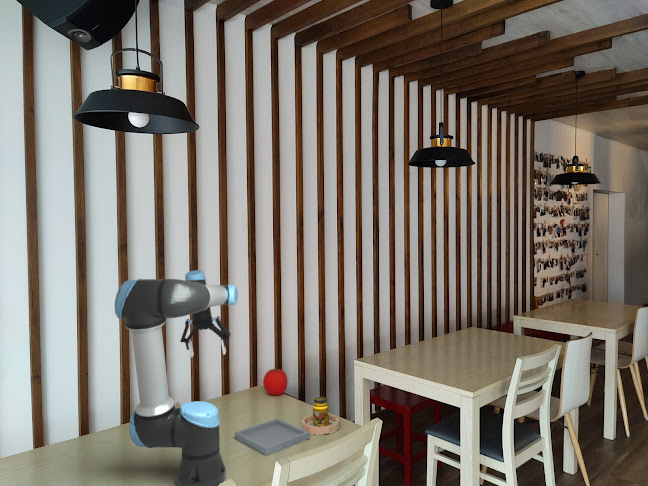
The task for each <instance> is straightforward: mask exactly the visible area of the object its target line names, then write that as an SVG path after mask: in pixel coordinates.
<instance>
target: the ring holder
mask: <svg viewBox="0 0 648 486" xmlns="http://www.w3.org/2000/svg"><path fill="white" fill-rule="evenodd" d="M328 416H329V420H331V421H333V422H335V423H334V424H329V426H322V427H317V426H311V424H307V423H308V422H311V421H313V414H310V415H307V416H305V417H303V418H302V420H301V429H302V428H303V430H305V431H307V432H309V433H312V434H324V433H330V432H331V431H334V430H336V429H337V428H338V427H339V428H340V419H339V418H338V417H337V416H336V415H334V414H331V413H328Z"/></svg>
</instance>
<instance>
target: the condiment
mask: <svg viewBox="0 0 648 486" xmlns="http://www.w3.org/2000/svg"><path fill="white" fill-rule="evenodd" d="M312 413H313V423H312V425H314V426H317V427H322V426H329V425H330V423H329V416H328V414H329V405H328V399H327V397H326V396H317V397H315V398H314V399H313V406H312Z"/></svg>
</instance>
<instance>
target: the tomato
mask: <svg viewBox="0 0 648 486" xmlns="http://www.w3.org/2000/svg"><path fill="white" fill-rule="evenodd" d="M262 385H263V388H264V389H265V392H266V393H267V394H268V395H270V396H279V395H282V394H284V393H285V391H286V390H287V388H288V376H287V373H286V372H285V371H284V370H283V369H280V368H272V369H268V371H266V373H265V374H264V376H263V381H262Z"/></svg>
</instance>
